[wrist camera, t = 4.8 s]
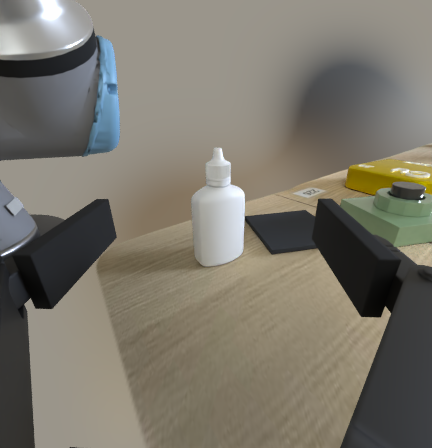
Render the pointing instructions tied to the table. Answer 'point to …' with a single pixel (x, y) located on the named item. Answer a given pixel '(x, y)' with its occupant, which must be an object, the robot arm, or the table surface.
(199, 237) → the eye dropper bottle
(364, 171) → the element tile
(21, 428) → the robot arm
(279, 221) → the slate mat
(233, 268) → the table surface
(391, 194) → the black round knob
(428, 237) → the button housing
